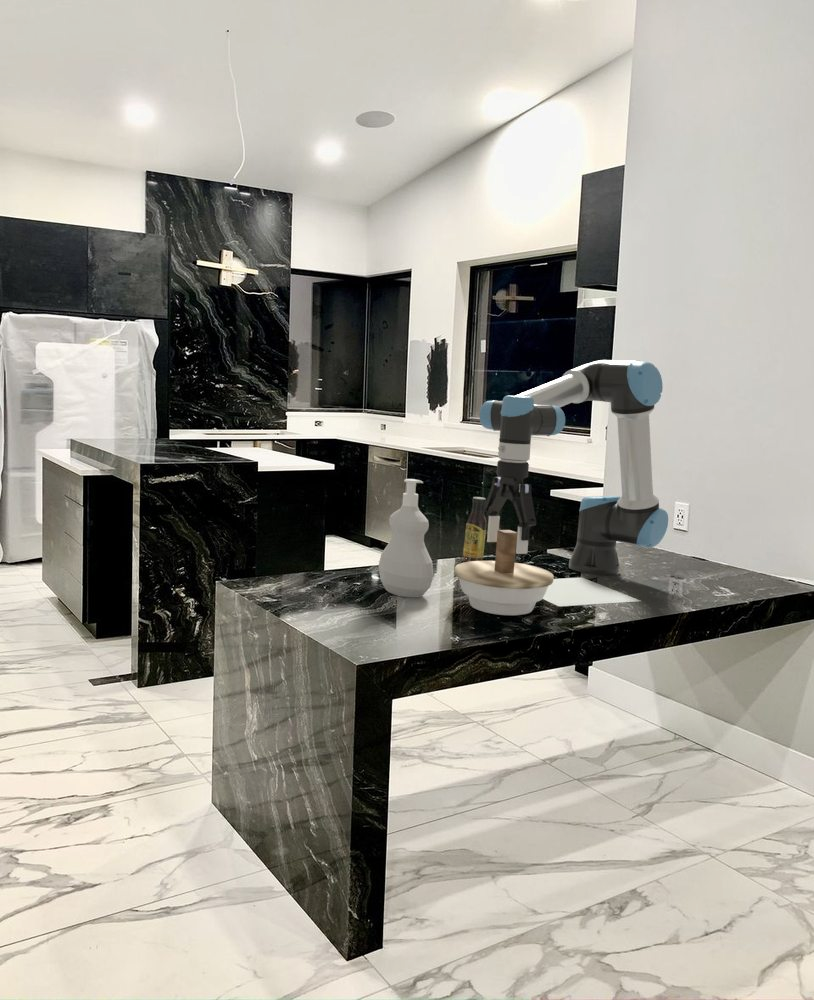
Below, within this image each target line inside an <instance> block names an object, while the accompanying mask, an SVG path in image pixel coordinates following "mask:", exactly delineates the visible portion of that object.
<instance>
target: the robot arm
mask: <svg viewBox="0 0 814 1000" xmlns="http://www.w3.org/2000/svg"><path fill="white" fill-rule="evenodd" d="M663 385H664V384H663V379H662V375H661V372H660V371H659V368H657V367H656V366H655V364H653V363H651V362H647V361H641V360H628V359H627V360H622V359H621V360H619V359H618V360H616V359H615V360H614V359H600V360H595V361H592V362H589V363H585V364H582V365H579V366H577V367H575V368H572V369H569V370H567V371H565V373H563V374H562V376H561V377H559V378H556V379H554V380H551V381H549V382H547V383H543V384H541V385H539V386H536V387H534V388H531V389H528V390H526V391H523V392H521V393H519V394H516V395H505V396H504V397H503V398H502V400H497V399H495V400H494V399H493V400H487V401H485V402H484V403H483V404H482V405H481V407H480V409H479V413H478V416H479V422H480V424H481V426H482V427H483V428H484V429H487V430H491V431H492V430H493V431H494V432H497V431H499V440H498V441H499V443H498V447H497V448H498V454H497V458H498V461H497V463H496V475H497V476H493V477H492V482H491V483H492V484H491V487H490V490H489V493H488V495H487V498H486V503H485V506H484V513H486V515H487V516H488V518H487V519H488V520H487V522H488V523H487V537H486V538H487V539H486V542H487V543H497V533H498V530H500V519H501V516H500V515H501V513H500V512H501V510H502V508H503V506H504V505H505V503H506V502H507V500H508V501H509V500H510V502H511V503H512V505H513V506H514V509H515V513H516V515H517V518H518V522H519V524H518V525H517V539H516V551H515V554H516V555H517V554H518V555H521V554H522V555H523V554H524V555H527V554H528V550H529V547H528V546H529V539H530V532H531V531H530V530H531V528H532V527H533V526H536V525H537V518H536V511H535V507H534V502H533V496H532V485H531V483H529V484H528V483H525V484H524V479H527V478H528V476H529V467H530V464H529V462H528V461H529V460H530V457H531V442H532V439H531V438H532V436H539V437H540V436H546V437H550V436H556V435H558V434H560V433H561V432H562V431H563V429H564V428H565V425H566V416H565V415H566V414H565V413H564V411H563V410H562V407H565V406H566V405H570V404H571V403H572V404H580V403H584V402H587V401H590V402H591V401H592V402H594V401H595V402H603V403H604V402H605V403H610V412H611V414H614V415H615V416H616V419H617V421H616V422H617V434H618V435H617V436H618V451H619V452H618V453H619V466H620V467H619V468H620V484H621V496H619V495H592V496H591V495H590V496H584V497H583V498H582V499H581V500H580V507H579V510H578V511H579V512H578V513H579V516H578V524H577V525H578V526H577V537H576V545H575V547H574V550H573V552H572V554H571V557H570V559H569V561H568V568H569V569H570V570H573V571H575V572H577V573H582V574H588V575H595V576H615V575H620V567H621V566H620V562H619V558H618V557H619V556H618V552H617V543H623V544H627V545H631V546H637V547H639V548H642V547H643V548H650V549H651V548H654V547H656V546H657V545H659V544H660V542H662V540H663V538H664V537H665V535H666V532H667V530H668V526H669V514H668V512H667V511H666V510H665V509H663V508H660V499H659V498H658V497H657V496H656V495H655V494H654V491H653V490H654V489H653V467H652V451H651V450H652V447H651V427H650V426H651V425H650V424H651V423H650V414H651V413H652V412H653V411H654V409H655V405H656V404H657V403H659V402H660V400H661V397H662V394H661V393H663V387H664V386H663Z"/></svg>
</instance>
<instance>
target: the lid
mask: <svg viewBox="0 0 814 1000" xmlns="http://www.w3.org/2000/svg"><path fill="white" fill-rule="evenodd" d="M517 533H518V531H514V530H511V529H499V530H498V533H497V542H496V545H495V546H496V547H495V548H496V549H495V560H482V561H470V562H466V561H464V562H462V563H458V564H456V565H455V567H454V575H455V576H456V577H457V578H458V579H459V578H461V579H463V580H465V581H468V582H472V583H475V584H480V585H485V586H491V587H499V588H510V589H532V588H541V587H546V586H549V585H551V584H552V583H553V579H555V577H554V574H553V573H552V572H550V571H549V570H547V569H544V568H542V567H539V566H534V565H531V564H526V563H519V562H515V560H516V546H517Z"/></svg>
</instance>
